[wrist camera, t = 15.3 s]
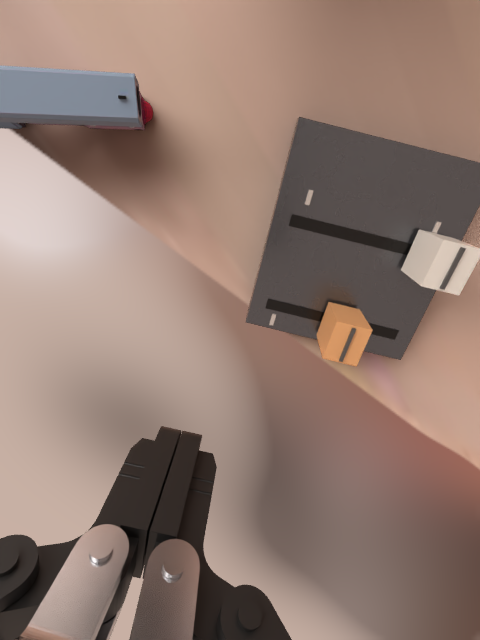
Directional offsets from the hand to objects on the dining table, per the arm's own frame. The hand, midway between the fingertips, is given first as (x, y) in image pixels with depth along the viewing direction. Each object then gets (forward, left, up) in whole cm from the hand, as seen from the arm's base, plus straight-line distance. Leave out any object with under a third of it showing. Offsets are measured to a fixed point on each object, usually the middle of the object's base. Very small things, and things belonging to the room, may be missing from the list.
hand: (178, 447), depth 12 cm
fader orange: (+2, +10, -21) cm, 23 cm away
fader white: (-6, +16, -21) cm, 27 cm away
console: (-5, +10, -23) cm, 26 cm away
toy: (-10, -17, -24) cm, 31 cm away
